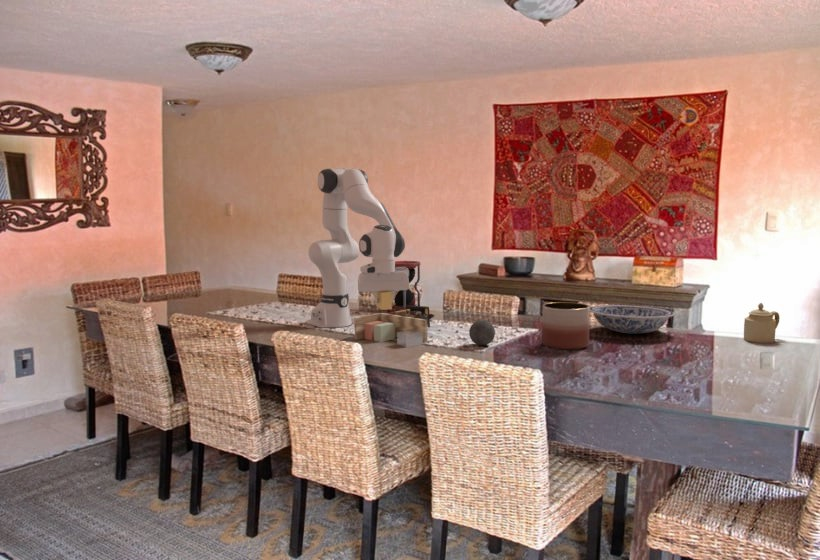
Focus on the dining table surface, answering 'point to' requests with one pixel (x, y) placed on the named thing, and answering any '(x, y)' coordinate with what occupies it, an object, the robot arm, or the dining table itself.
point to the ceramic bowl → (631, 318)
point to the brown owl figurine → (415, 313)
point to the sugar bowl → (761, 325)
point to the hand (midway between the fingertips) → (383, 302)
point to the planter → (565, 325)
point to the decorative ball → (482, 332)
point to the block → (409, 338)
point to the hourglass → (407, 296)
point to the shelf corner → (400, 322)
